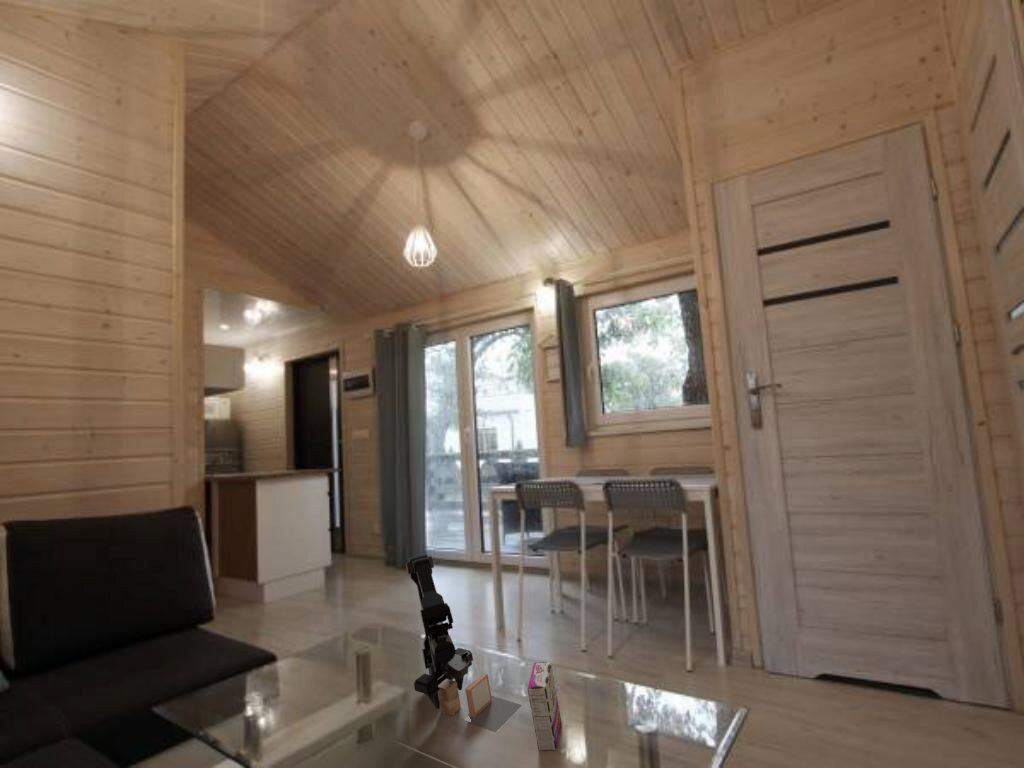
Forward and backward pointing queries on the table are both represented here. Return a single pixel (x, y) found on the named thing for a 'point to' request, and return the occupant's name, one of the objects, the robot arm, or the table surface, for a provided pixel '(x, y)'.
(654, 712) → the table surface
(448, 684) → the oak block
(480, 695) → the terracotta tile
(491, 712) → the rubber mat
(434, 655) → the robot arm
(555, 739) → the candy bar box
